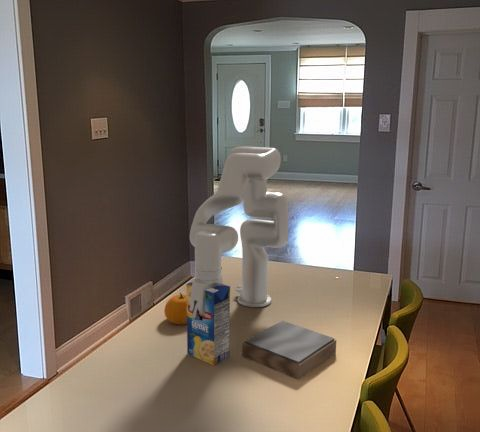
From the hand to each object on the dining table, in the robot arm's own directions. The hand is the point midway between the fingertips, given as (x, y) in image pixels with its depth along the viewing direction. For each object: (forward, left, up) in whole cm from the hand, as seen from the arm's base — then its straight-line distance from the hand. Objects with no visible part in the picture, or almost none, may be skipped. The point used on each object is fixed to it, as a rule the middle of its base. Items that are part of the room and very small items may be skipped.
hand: (208, 332), depth 151 cm
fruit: (-24, +12, -7) cm, 28 cm away
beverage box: (0, 0, -7) cm, 7 cm away
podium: (+18, +16, -7) cm, 25 cm away
